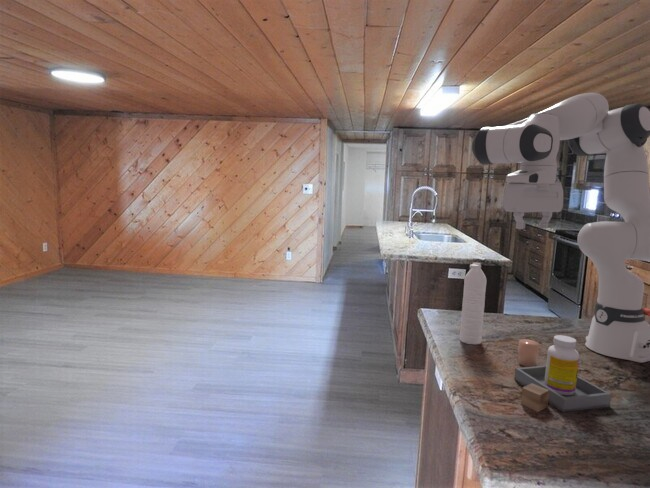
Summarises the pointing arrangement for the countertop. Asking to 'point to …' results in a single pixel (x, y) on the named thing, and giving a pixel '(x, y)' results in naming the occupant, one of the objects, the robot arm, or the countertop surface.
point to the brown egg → (528, 353)
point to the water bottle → (473, 305)
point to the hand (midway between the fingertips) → (531, 228)
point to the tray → (580, 400)
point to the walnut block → (535, 397)
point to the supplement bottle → (562, 365)
